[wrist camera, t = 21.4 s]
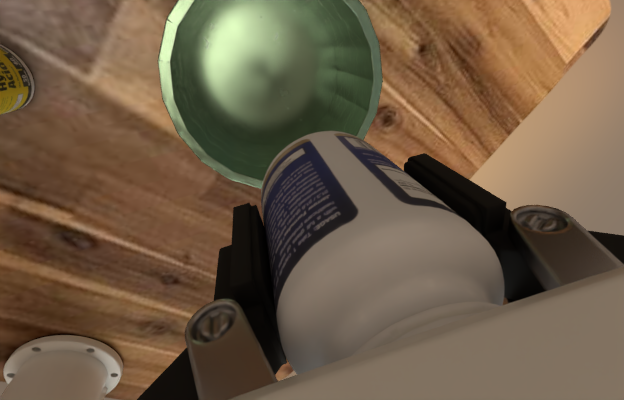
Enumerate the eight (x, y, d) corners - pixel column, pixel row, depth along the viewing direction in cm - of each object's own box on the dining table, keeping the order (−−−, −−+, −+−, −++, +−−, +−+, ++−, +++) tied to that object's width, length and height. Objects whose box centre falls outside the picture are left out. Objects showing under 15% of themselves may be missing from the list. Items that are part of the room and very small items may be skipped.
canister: (352, 129, 32) (390, 159, 24) (220, 165, 31) (212, 210, 23) (327, -37, 25) (369, -76, 17) (155, 3, 24) (109, -18, 16)
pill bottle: (276, 253, 14) (327, 577, 6) (244, 144, 11) (252, 444, 3) (384, 225, 15) (583, 480, 6) (379, 115, 12) (716, 293, 3)
